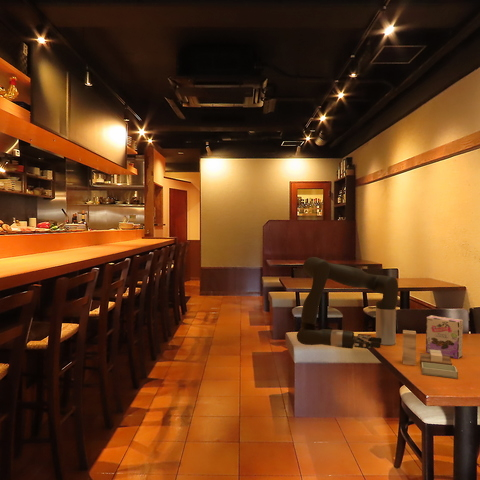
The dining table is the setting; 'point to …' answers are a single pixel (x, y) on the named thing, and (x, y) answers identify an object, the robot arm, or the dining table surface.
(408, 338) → the block
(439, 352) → the tile
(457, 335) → the candy box
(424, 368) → the tray
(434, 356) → the tile
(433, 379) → the dining table surface
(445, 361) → the flat square baseboard
